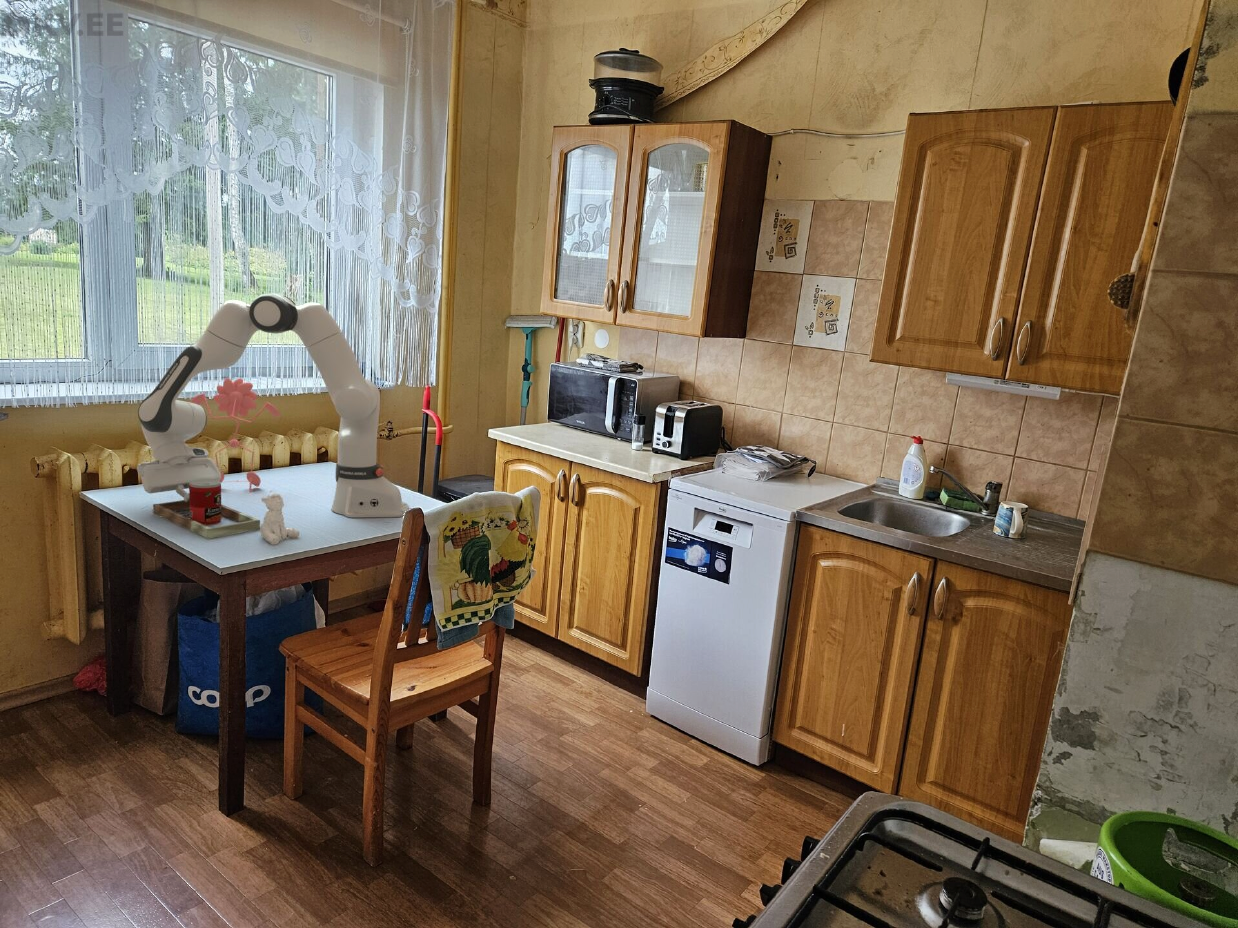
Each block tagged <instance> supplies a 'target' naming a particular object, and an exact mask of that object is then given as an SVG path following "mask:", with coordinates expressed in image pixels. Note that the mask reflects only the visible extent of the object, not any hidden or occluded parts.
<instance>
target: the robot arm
mask: <svg viewBox="0 0 1238 928" xmlns="http://www.w3.org/2000/svg"><path fill="white" fill-rule="evenodd" d="M258 331H262V332H264V333H268V334H282V333H285V332H289V331H292V332H294V333H295V334H296V335H297V336H298V338H300V340H301V342H302V343H303V345H304V347H305V349H306V350H307V352H308V354H309V356H310V357H311V360H312V361H313V364H315V366H316V369H318V372H319V373H320V376H321V378H322V380H323V383H324V385H325V387H326V390H327V392H328V394H329V397H330V399H331V401H332V403H333V405H334V409H335V411H336V412H337V414H338V415H339V416H340V422H339V429H338V435H337V463H336V464H335V476H334V477H335V481H336V485H335V486H336V487H335V493H334V497H333V501H332V505H331V508H330V509H331V511H332V512H334V513H336V514H340V515H343V516H345V517H347V518H398V517H399V518H400V517H403V516H404V515H403V514H404V513H405V511H407V510H408V509H409V510H410V507H409V504H408V503H406V502H404V501H402V499H403V498H402V494H401V491H400V489H399V488H398V486H396V485H395V484H393V483H392V482H391V481H390V480H389V479H387V478H386V477H384V476H383V475H384V466H383V464H381V465H380V464H378V463H377V451H378V450H377V447H378V446H377V445H378V441H377V440H378V430H379V422H380V421H379V420H380V409H381V393H380V390H379V387H377V385H376V384H375V383H374V382H372V381H371V380H369V379H365V377H364V375H363V372H362V370H361V368H360V365H359V363H358V359H357V357H356V355H355V353H354V351H353V349H352V348H351V346H350V344H349V342H348V339H346V337H345V335H344V333H343V331H342V329H341V327H339V324H338V323H337V322H336V320H335V318H334V317H333V316H332V315H331V313H330V312H329V310H327V308H326V307H325V306H324V305H323V304H321V303H319V302H315V301H314V302H306V303H303V304H301V305H296V303H295V302H294V300H292V299H291V298H289V297H288V296H285V295H282V294H280V293H274V292H273V293H263V294H260V295H258V296H256V297H255V298H254V299H253V300H252V302H251V303H250V304H249V303H246V302H245V301H241V300H236V299H229V300H227V301H225V302H223V304H222V305H221V306H220V307H219V309H218V310H217V312H216V313H215V314H214V315H213V316H212V319H211V320H210V322H209V323H208V325H207V327H206V329H205V330H204V332H203V334H202V335H201V336H200V338H198V340H197V341H195V342H194V343H193V344H192V345H190V346H188V347H186V348H184V349H183V351H181V353H180V354H179V355H178V356H177V358H176V359H175V360H174V361H173V363H172V364H171V365H170V368H168V370H167V372H166V373H165V374H164V375H163V377H162V378H161V379H160V381H159V383H158V384H157V385H156V386H155V388H154V389H153V390H152V391H151V392H150V393H149V394H148V395H147V396H146V397H145V398H144V399H143V400H142V401H141V403H140V404H139V406H138V410H137V417H138V420H139V422H140V426H141V431H142V434H143V437H144V438H145V441H146V443H147V445H148V446H149V447H150V449H151V452H152V457H153V458H154V460H153V461H148V462H147V461H142V462H141V463H139V464H138V465H137V466H136V471H137V473H138V475H139V476H140V477H141V483H142V486H143V490H144V491H145V492H146V493H147V494H155V493H156V494H157V493H165V492H171V491H175V492H176V493H177V495H180V497H182V498H183V500H185V502H187V501H190V500H189V492H187V491H186V490H185V489H189V482H191V481H193V480H199V479H213V480H218V481H219V480H220V478H221V473H220V472H221V470H220V469H218V467H219V466H218V467H217V463H216V461H215V460H213V459H212V458H210V457H209V455H210V454H209V451H208V450H207V449H204V448H200V447H194V446H193V447H192V446H189V445H187V444H186V441H190V440H191V439H193V438H194V437H196V436H198V435H200V434H201V433H203V431H204V430H205V428H206V427H207V422H208V418H207V417H208V415H207V413H206V411H205V409H204V407H203V406H202V405H198V404H194V403H190V402H191V401H185V400H179V396H180V395H181V394H182V393H183V391H184V390H185V388H186V387H187V385H188V384H189V382H190V381H191V380H192V378H194V377H195V376H197V375H199V374H201V373H204V372H208V371H209V372H210V371H213V370H215V371H216V370H224V369H228V368H230V367H232V366H234V365H236V363H238V361H239V360H240V359H241V358H242V356H243V354H244V352H245V350H246V348H247V346H248V344H249V343H250V340H251V338H253V335H254V334H255V333H256V332H258Z"/></svg>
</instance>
